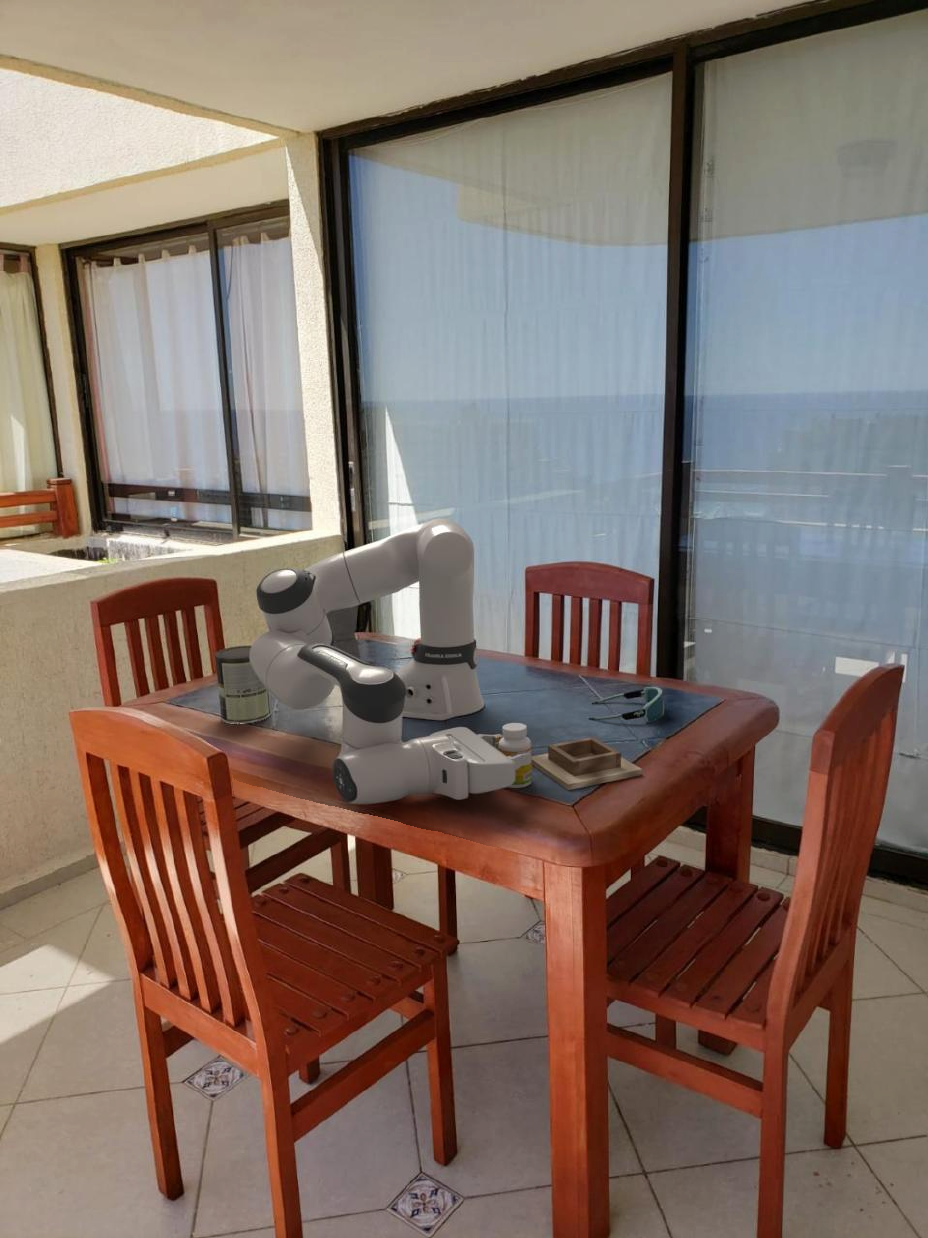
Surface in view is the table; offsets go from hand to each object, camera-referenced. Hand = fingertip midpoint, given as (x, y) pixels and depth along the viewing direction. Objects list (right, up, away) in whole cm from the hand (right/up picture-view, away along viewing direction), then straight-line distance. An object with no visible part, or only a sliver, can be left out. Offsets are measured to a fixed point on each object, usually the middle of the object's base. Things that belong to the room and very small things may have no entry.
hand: (515, 748), depth 153 cm
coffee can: (-54, +1, +41) cm, 68 cm away
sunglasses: (+24, +2, +35) cm, 43 cm away
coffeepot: (-38, +10, +81) cm, 90 cm away
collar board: (+12, -4, +6) cm, 14 cm away
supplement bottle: (0, -6, +1) cm, 6 cm away
